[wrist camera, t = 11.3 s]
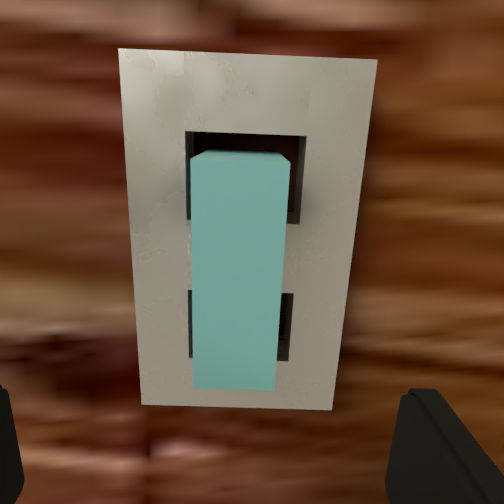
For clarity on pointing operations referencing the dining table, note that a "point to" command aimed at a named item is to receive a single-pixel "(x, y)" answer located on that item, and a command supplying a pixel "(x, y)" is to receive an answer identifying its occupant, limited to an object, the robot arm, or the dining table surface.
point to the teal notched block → (237, 266)
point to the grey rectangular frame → (298, 222)
